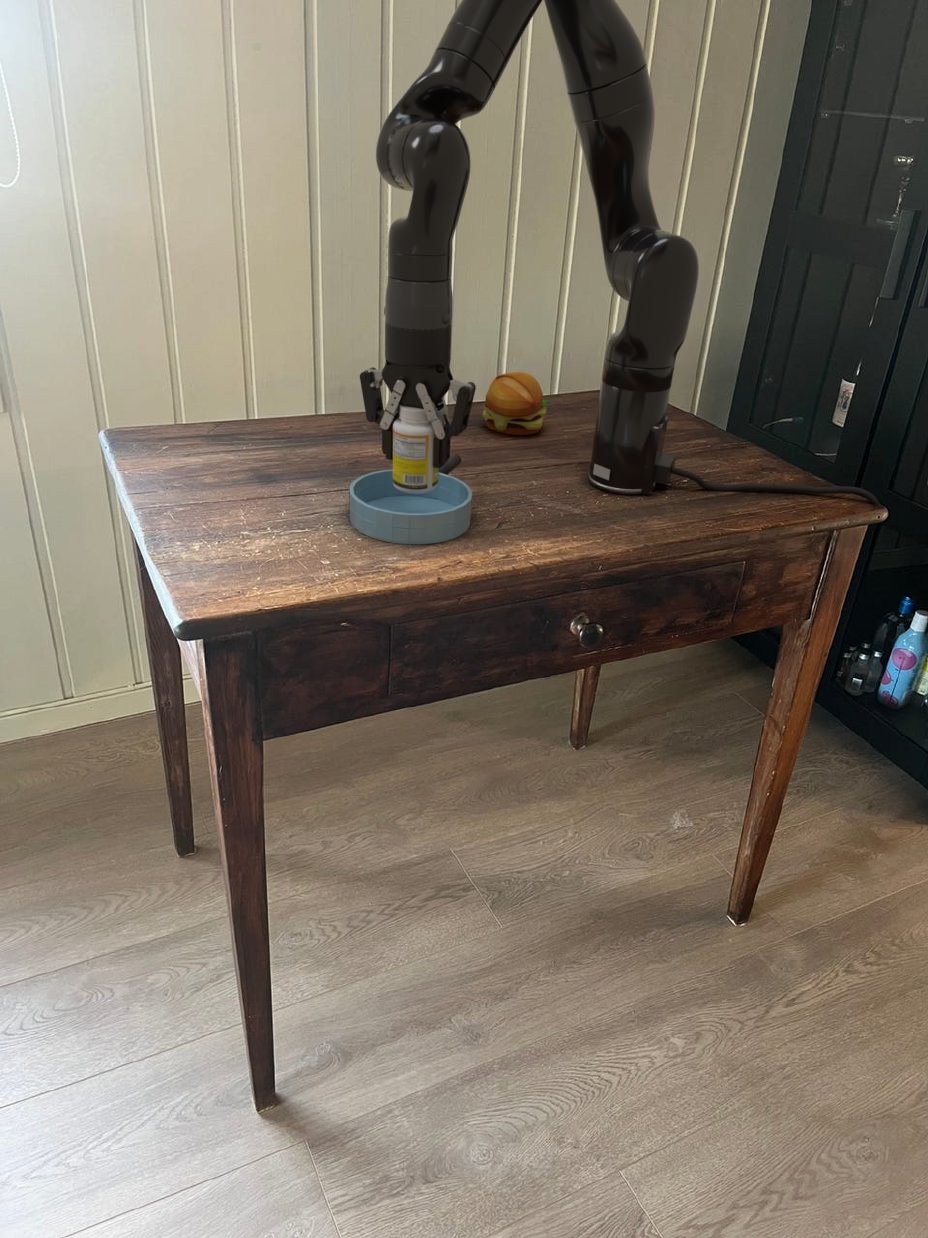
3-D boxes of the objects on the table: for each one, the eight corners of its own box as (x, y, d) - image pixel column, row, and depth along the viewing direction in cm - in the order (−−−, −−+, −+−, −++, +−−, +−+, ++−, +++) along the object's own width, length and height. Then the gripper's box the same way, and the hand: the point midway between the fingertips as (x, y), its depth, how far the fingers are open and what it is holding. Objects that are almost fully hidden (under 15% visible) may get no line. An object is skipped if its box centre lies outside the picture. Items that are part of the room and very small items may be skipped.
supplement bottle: (421, 475, 119) (423, 395, 114) (446, 490, 116) (450, 407, 110) (383, 483, 116) (383, 401, 111) (408, 498, 113) (410, 415, 107)
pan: (486, 509, 122) (489, 482, 120) (443, 554, 110) (444, 524, 108) (381, 488, 126) (381, 461, 125) (327, 528, 114) (327, 499, 112)
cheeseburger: (550, 420, 156) (555, 365, 149) (538, 455, 149) (543, 399, 142) (490, 412, 158) (492, 357, 151) (475, 446, 150) (477, 390, 143)
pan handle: (438, 484, 123) (439, 473, 122) (427, 482, 123) (428, 471, 122) (462, 464, 130) (463, 453, 129) (451, 462, 130) (452, 451, 129)
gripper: (490, 320, 107) (481, 462, 115) (374, 305, 111) (374, 443, 120) (467, 333, 101) (459, 482, 109) (345, 317, 105) (347, 461, 113)
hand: (415, 461), depth 114 cm, fingers closed on supplement bottle, 5 cm apart
